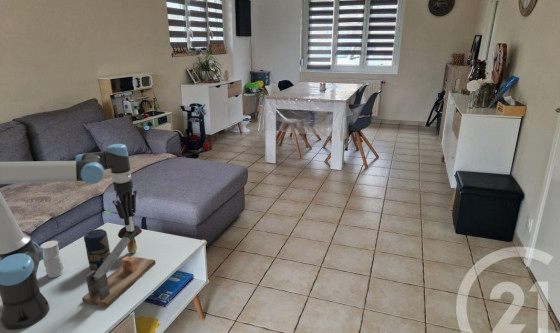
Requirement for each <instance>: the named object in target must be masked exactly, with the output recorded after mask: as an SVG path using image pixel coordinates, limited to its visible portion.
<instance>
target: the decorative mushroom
mask: <svg viewBox="0 0 560 333" xmlns="http://www.w3.org/2000/svg"><path fill="white" fill-rule="evenodd" d="M126 232H127V230H126V225H125V226H123V227H121V229H119V231H118V233H117V237H118V238H120V239H122V238H123V236H124V235H125V233H126ZM142 232H143V230H142V228H141V227H139V231H138V232H137V233H136V235H135V236H134V237H133V239H132V240H131V241H130V242H129V244H128V245H127V246H126V247H127V252H129V253H130V254H134V253H136V251H137V250H138V246H137V241H136V237H138V236H139V235H140V234H141V233H142Z"/></svg>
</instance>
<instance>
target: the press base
mask: <svg viewBox="0 0 560 333" xmlns="http://www.w3.org/2000/svg"><path fill="white" fill-rule="evenodd" d="M121 264H122V265H121V266H120V267H119V268H117V269H115V271H113V272H112V273H111V274H110V275H108V276H107V273H105V272H103V273H102V274H101V275H99V276H98V277H97V278H96V280H97V281H92V280H91V277H92V276H93V275H94V274H95V273H96V271H97V270H94V269H92V270H91V271H90V272H88V273H87V274H86V275H85V279H86V284H87V285H86V286H87V289H88V290H87V291H88V292H87V293H86V294H85V295H84V296H83V297H81V300H82V303H85V304H89V305H94V306H99V307H105V308H109V307H110V306H111V305H112V304H113V303H115V301H117V300H118V299H119V298H120V297H121V296H122V295H123V294H124V293H126V291H128V290H129V289H130V288H131V287H132V286H133V285H134V284H135V283H136V282H137V281H138V280H139V279H140V278H142V277H143V276H144V275H145V274H146V273H147V272H148V271H150V269H151V268H153V267H154V266H155V265H156V260H155V259H153V258H152V259H151V258H143V257H140V256H125V257H124V258H122V259H121Z"/></svg>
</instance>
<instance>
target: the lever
mask: <svg viewBox="0 0 560 333" xmlns="http://www.w3.org/2000/svg"><path fill="white" fill-rule="evenodd" d="M133 225H134V224H133ZM139 228H140V226H138V225H136V224H135V225H134V230H133V231H132V232H131V231H127V232H126V233H125V235H124V236H123V238H120V240H119V242H118V243H117V244H116V245H115V247H114V248H113V250H112V251H110V255H109V256H108V257H107V258H106V260H105V261H104V262H103V264H102V265H101V266H100V268H99V269H98V270H95V271H96V273H95V274H94V275H93V276H92V277H91V280H92V281H97V280H96V278H97V277H98V276H99V275H101V274H102V273H103V272H105V273H106V274H107V273H108V271H110V269H111V268H112V267H113V265H114V264H115V263H116V261H117V260H118V258H119V257H120V256H121V254H122V253H123V252H124V250H125V249H126V247H127V245H128V244H129V242H130V241H131V240H132V239H133V237H134V236H135V235H136V233H137V232H138V231H139ZM134 238H135V237H134Z"/></svg>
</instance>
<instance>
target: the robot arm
mask: <svg viewBox="0 0 560 333" xmlns="http://www.w3.org/2000/svg"><path fill="white" fill-rule="evenodd" d="M74 158H75V159H74V160H48V161H47V160H42V161H41V160H38V161H37V160H36V161H29V160H28V161H0V185H12V184H33V183H35V184H37V183H58V182H59V183H64V182H66V183H67V182H85V183H87V184H90V185H94V184H97V183H99V182H101V181H102V180H103V178H104V173H105V171H106V170H110V174H111V180H112V186H113V190H114V192H115V193H116V194H115V197H116V198H115V200H112V204H113V205H114V206H115V210H116V212H117V214H118V217H119V219H121V220H122V219H123V221H124V222H123V223H124V225H125V226H126V230H127V231H131V232H132V231H133V230H134V217H135V213H136V211H137V210H136V209H137V208H136V207H137V206H136V205H137V201H136V200H137V199H136V198H137V197H136V196H137V190H133V187H134V184H133V180H132V173H131V165H130V164H131V163H130V158H129V152H128V147H127V145H126V144H123V143H114V144H113V143H112V144H110V145H108V146H107V149H106V150H105V151H104V150H103V151H96V152H94V151H93V152H87V153H86V152H83V153H82V154H76V155H75V157H74ZM41 257H42V249H41V247H40V246H39V244H37V242H35V241H33V240H32V238H31V236H30V235H27V234H26V235H25V234H24V233H23V231H22V229H21V227H20V225H19V224H18V221H17V219H16V218H15V216H14V214H13V212H12V210H11V209H10V207H9V204H8V203H7V201H6V199H5V197H4V195H3V194H2V192H1V191H0V299H1V302H2V308H1V309H2V310H1V316H0V322H1V325H2V327H3V328H4V329H8V330H19V329H23V328H26V327H30V326H32V325H34V324H36V323H38V322H40V321H41V320H42V319H44V317H46V316H47V314H48V313H49V311H50V304H49V301H48V300H47V299H46V297H45V296H44V294H42V292H41V291H40V286H39V283H38V279H37V278H38V277H37V275H38V274H37V273H38V269H39V265H40V262H41V259H42V258H41Z"/></svg>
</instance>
